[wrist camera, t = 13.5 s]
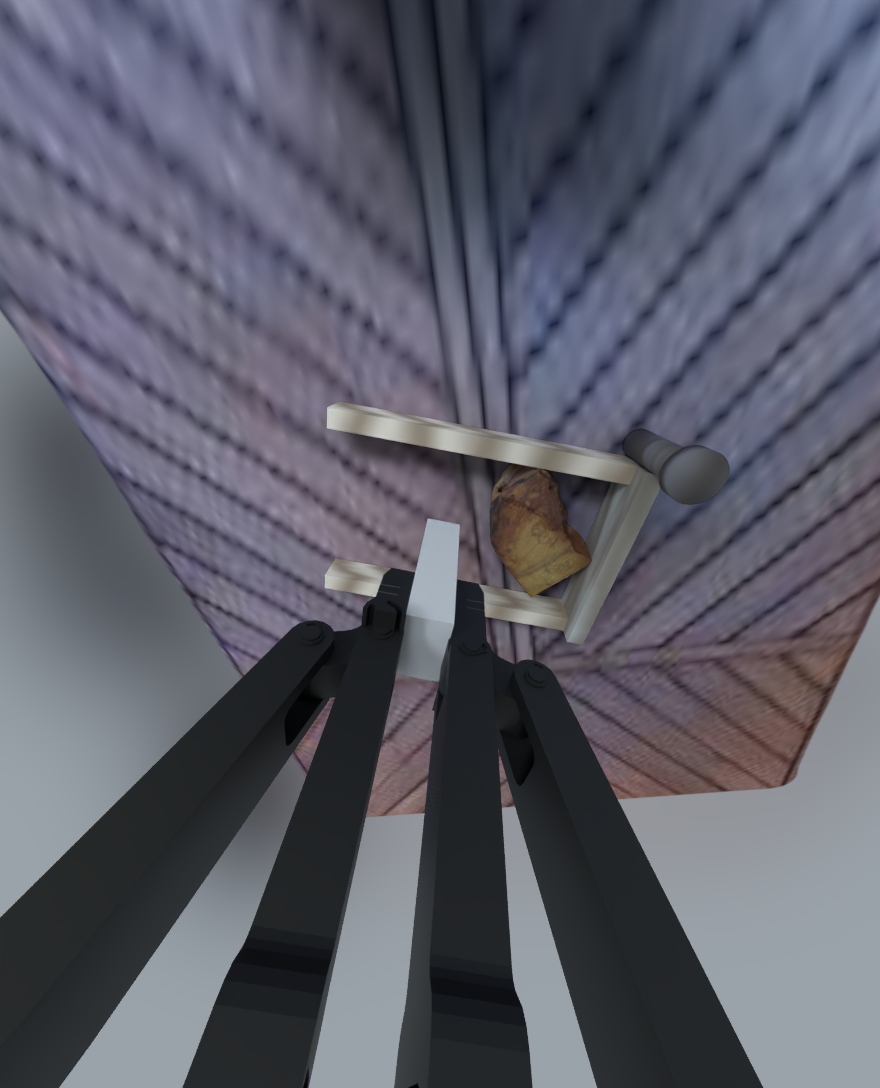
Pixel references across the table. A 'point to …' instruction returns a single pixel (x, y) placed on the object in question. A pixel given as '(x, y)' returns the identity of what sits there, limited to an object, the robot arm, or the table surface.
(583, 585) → the bay
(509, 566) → the stone
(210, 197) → the table surface
